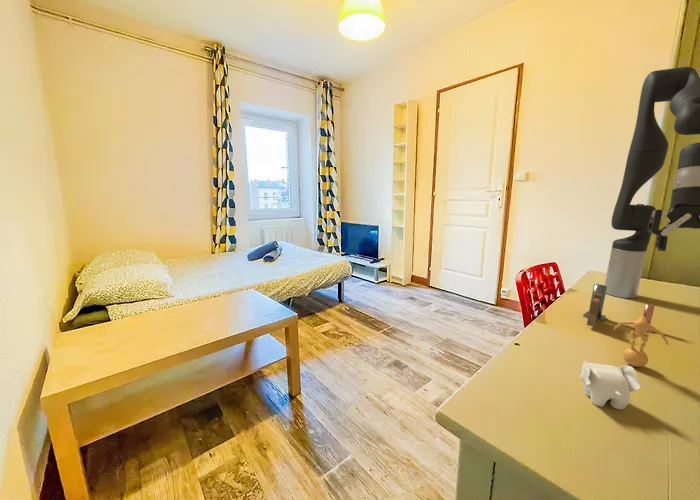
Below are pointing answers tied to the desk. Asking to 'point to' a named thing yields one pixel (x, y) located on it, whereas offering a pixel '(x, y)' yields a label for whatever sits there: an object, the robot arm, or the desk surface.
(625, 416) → the desk surface
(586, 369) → the elephant figurine
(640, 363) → the figurine
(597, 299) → the gate
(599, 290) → the gate posts
